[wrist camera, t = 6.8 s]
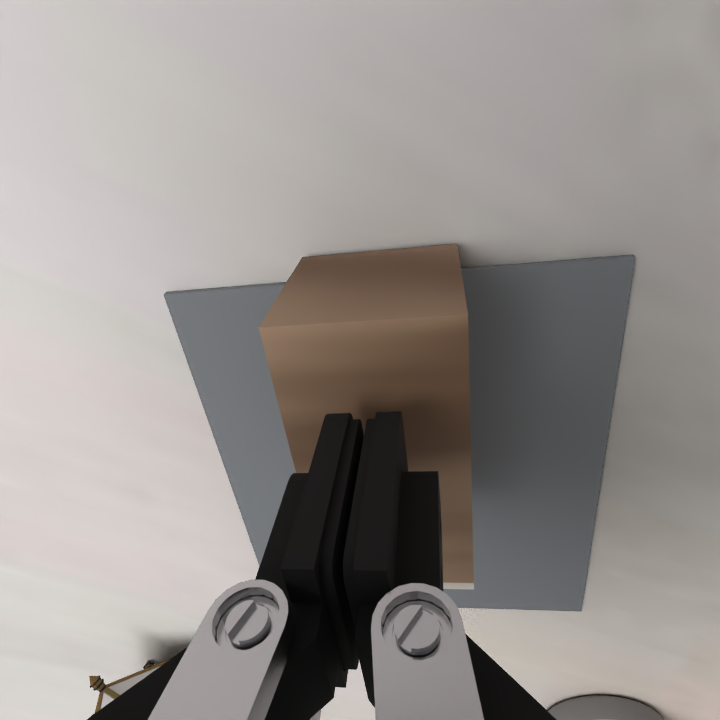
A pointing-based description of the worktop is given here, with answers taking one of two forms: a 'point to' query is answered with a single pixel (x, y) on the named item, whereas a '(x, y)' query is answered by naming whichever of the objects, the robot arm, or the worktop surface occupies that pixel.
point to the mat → (487, 415)
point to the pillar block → (382, 366)
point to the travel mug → (602, 709)
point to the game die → (119, 684)
